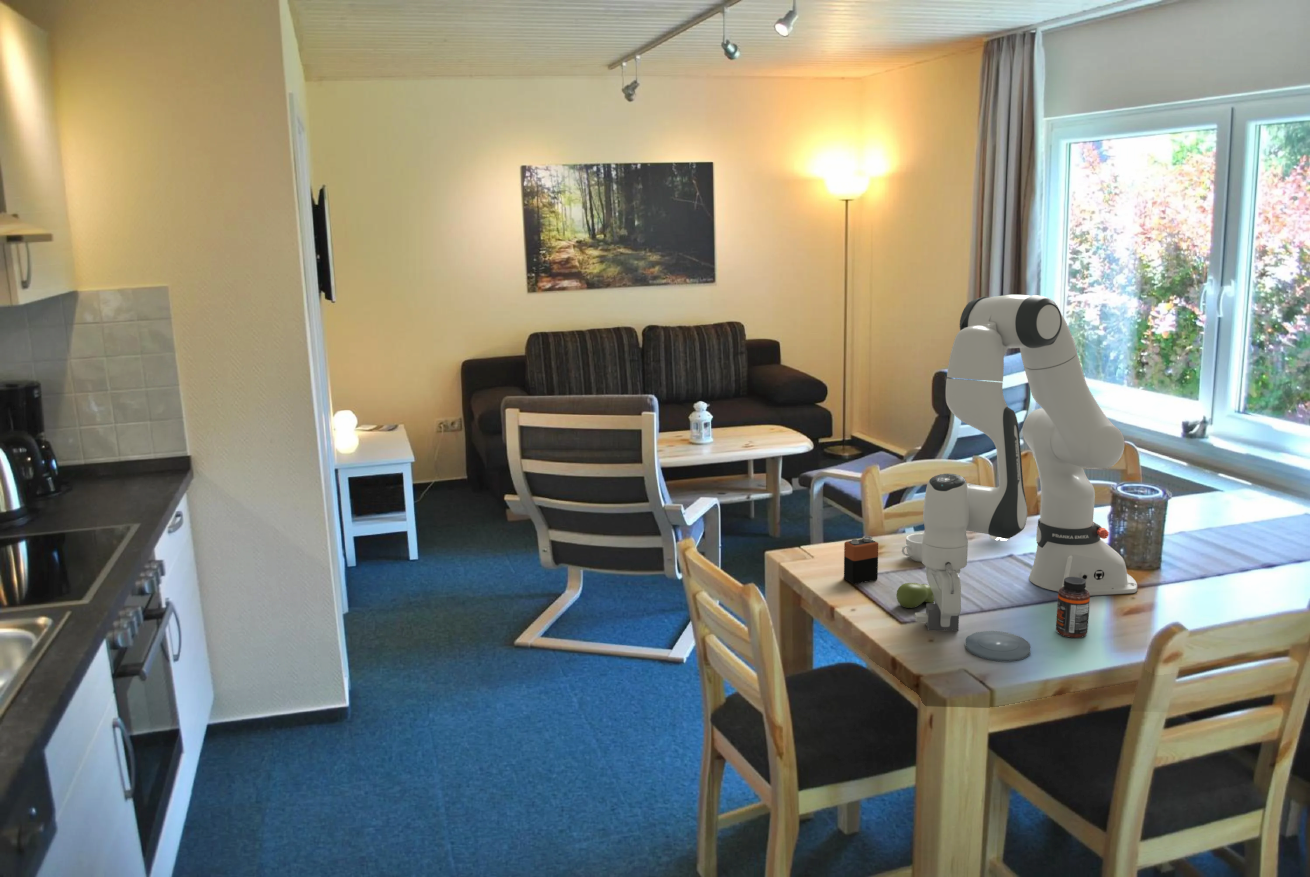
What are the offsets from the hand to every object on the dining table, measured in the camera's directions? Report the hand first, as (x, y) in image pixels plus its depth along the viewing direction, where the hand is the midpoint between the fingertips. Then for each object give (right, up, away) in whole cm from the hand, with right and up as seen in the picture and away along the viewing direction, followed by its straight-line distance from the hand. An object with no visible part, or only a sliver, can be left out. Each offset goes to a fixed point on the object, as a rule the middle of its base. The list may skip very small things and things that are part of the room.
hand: (942, 619), depth 212 cm
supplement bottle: (+25, -2, -4) cm, 25 cm away
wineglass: (+30, +11, +55) cm, 64 cm away
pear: (-2, +1, +13) cm, 13 cm away
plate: (+8, -4, -10) cm, 14 cm away
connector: (-1, -2, +1) cm, 2 cm away
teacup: (+5, +7, +40) cm, 41 cm away
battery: (-11, +4, +28) cm, 30 cm away
